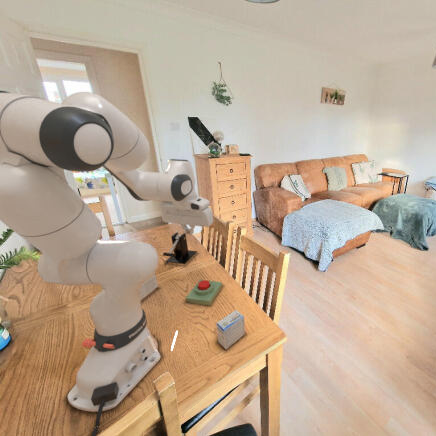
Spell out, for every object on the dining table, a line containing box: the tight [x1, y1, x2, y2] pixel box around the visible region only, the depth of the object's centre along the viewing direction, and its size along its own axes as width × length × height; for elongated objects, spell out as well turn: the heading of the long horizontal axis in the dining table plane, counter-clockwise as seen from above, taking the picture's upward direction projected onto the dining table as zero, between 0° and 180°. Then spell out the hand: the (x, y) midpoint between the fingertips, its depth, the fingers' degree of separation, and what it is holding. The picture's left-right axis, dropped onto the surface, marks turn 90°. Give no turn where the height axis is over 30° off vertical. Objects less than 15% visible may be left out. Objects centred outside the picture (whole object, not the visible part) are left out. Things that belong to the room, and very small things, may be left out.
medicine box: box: [216, 309, 246, 350], centre depth 78 cm, size 8×4×9 cm, turn 141°
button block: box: [185, 279, 223, 306], centre depth 99 cm, size 12×10×4 cm
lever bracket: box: [165, 232, 198, 265], centre depth 121 cm, size 12×10×14 cm
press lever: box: [162, 233, 182, 258], centre depth 116 cm, size 12×6×2 cm, turn 171°
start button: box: [197, 279, 210, 290], centre depth 98 cm, size 4×4×2 cm
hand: (189, 233), depth 97 cm, fingers closed
